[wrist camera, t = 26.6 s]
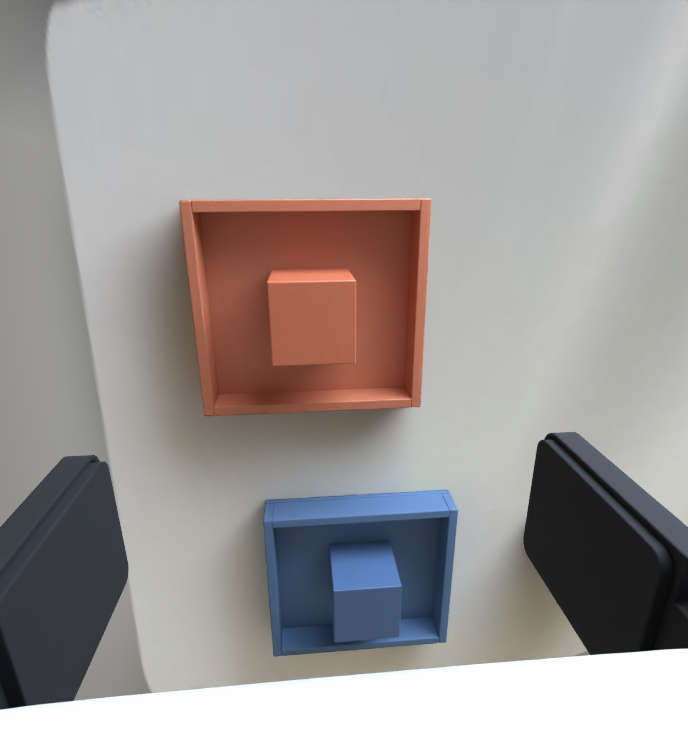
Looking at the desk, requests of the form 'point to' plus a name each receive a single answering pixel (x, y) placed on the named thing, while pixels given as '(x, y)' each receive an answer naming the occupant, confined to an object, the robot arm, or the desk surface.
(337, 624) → the blue block
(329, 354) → the terracotta block
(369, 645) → the blue tray
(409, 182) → the desk surface
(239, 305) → the terracotta tray
